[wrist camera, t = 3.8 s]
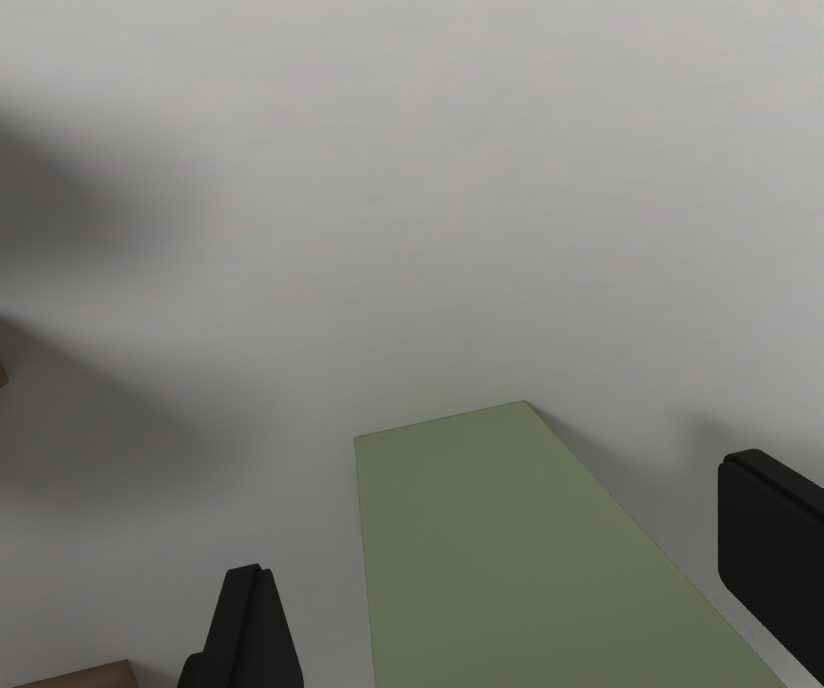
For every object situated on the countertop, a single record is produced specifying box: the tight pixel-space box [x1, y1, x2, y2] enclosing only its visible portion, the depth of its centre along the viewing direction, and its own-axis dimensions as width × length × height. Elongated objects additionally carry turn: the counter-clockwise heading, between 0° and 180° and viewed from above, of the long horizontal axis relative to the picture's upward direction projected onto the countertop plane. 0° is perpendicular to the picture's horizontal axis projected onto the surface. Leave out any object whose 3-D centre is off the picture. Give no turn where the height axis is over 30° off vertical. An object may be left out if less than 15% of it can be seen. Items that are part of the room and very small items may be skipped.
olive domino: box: [354, 400, 788, 688], centre depth 11 cm, size 2×5×10 cm, turn 100°
